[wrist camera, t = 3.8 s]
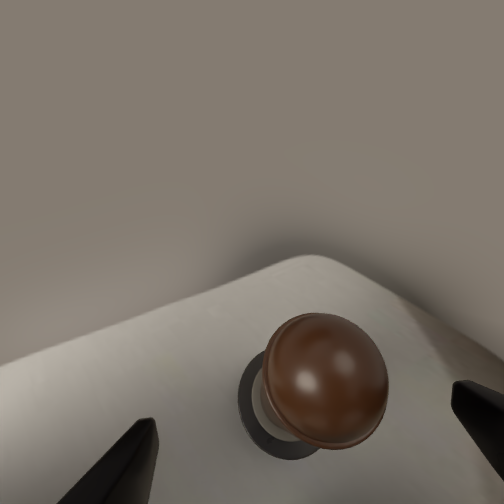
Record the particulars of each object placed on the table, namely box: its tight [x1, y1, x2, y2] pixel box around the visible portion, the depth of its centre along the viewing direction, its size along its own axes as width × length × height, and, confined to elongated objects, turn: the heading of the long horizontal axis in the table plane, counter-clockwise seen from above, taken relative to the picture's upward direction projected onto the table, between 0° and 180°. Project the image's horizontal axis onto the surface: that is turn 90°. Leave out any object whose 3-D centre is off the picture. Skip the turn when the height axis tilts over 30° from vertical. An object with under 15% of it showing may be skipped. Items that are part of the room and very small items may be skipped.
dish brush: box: [238, 313, 389, 460], centre depth 9 cm, size 5×5×12 cm
